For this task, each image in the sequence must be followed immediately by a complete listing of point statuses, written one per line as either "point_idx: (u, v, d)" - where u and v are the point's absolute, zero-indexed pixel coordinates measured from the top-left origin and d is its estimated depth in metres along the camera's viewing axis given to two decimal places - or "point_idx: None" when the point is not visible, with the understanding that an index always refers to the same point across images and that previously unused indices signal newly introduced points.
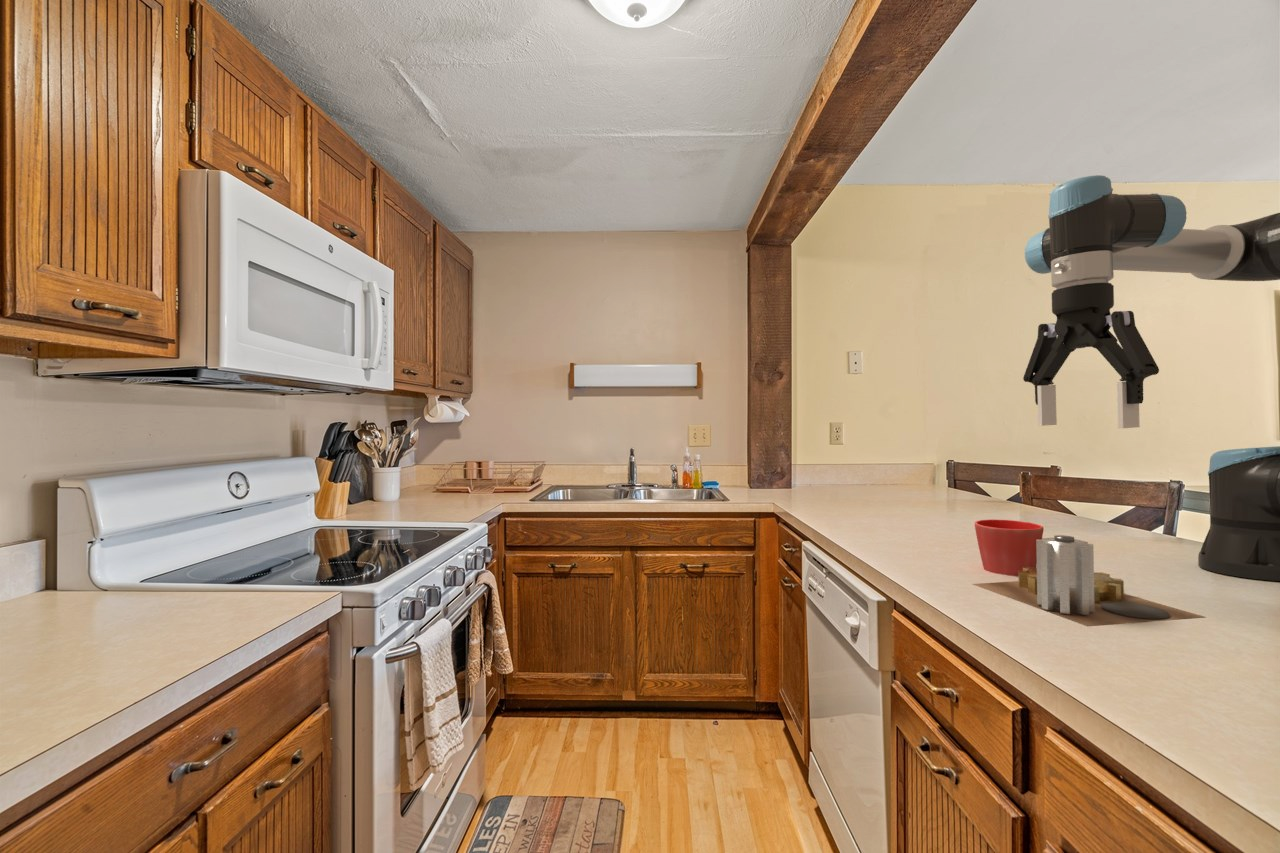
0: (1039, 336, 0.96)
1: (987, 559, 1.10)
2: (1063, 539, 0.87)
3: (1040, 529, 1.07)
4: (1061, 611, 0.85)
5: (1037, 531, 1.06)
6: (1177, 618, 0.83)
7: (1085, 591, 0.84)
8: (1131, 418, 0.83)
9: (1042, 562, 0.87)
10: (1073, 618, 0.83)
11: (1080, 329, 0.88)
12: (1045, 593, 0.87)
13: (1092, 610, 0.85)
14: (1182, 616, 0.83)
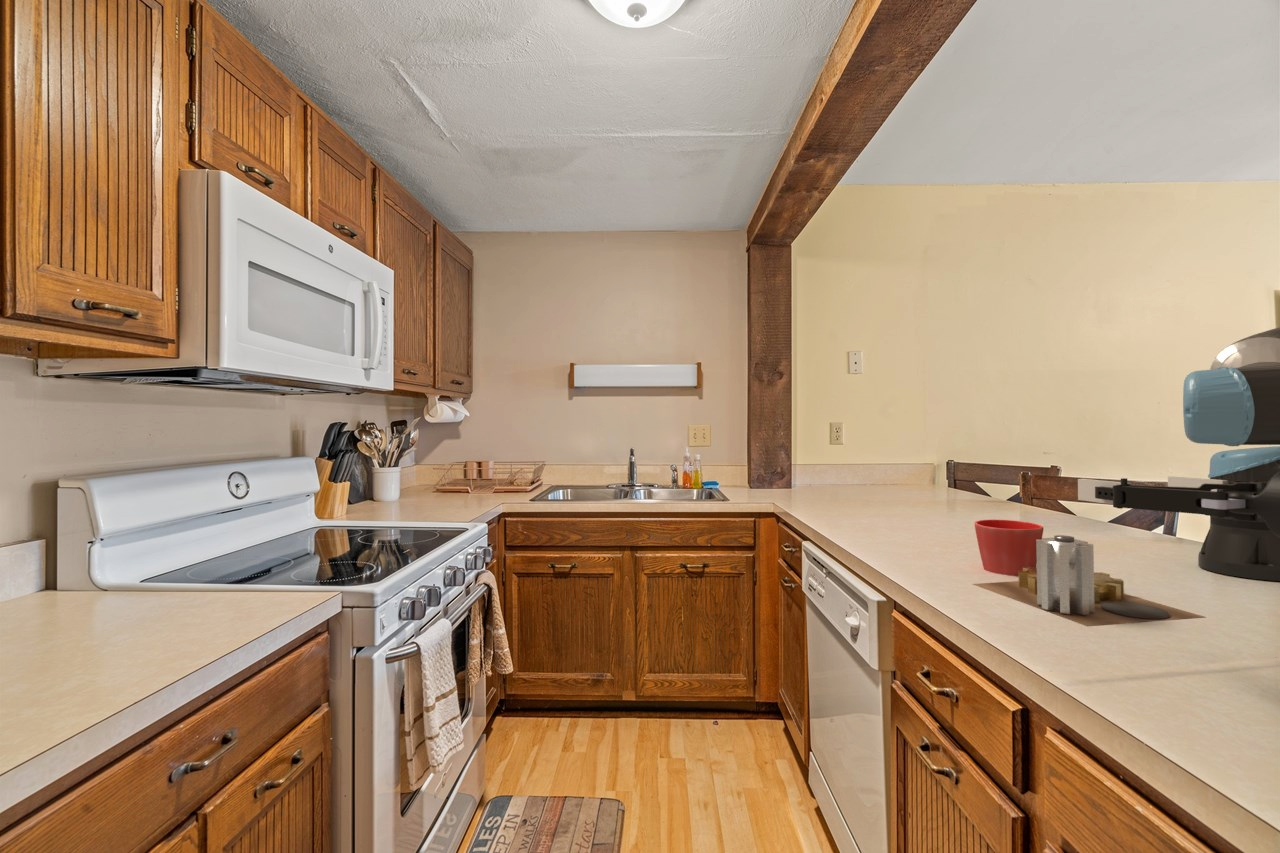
0: None
1: (987, 559, 1.10)
2: (1063, 539, 0.87)
3: (1040, 529, 1.07)
4: (1061, 611, 0.85)
5: (1037, 531, 1.06)
6: (1177, 618, 0.83)
7: (1085, 591, 0.84)
8: None
9: (1042, 562, 0.87)
10: (1073, 618, 0.83)
11: None
12: (1045, 593, 0.87)
13: (1092, 610, 0.85)
14: (1182, 616, 0.83)
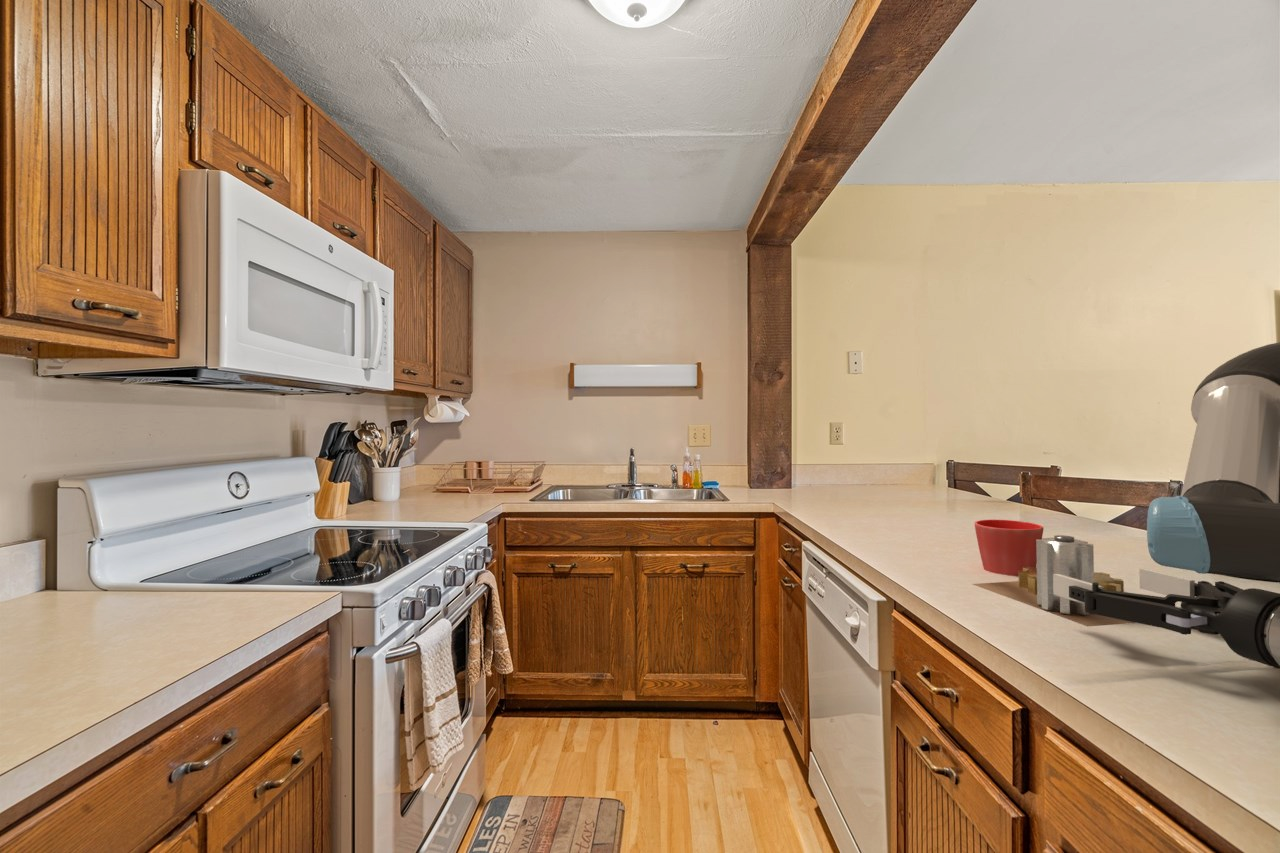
0: None
1: (987, 559, 1.10)
2: (1063, 539, 0.87)
3: (1040, 529, 1.07)
4: (1061, 611, 0.85)
5: (1037, 531, 1.06)
6: None
7: None
8: None
9: (1042, 562, 0.87)
10: (1073, 618, 0.83)
11: None
12: (1045, 593, 0.87)
13: None
14: None
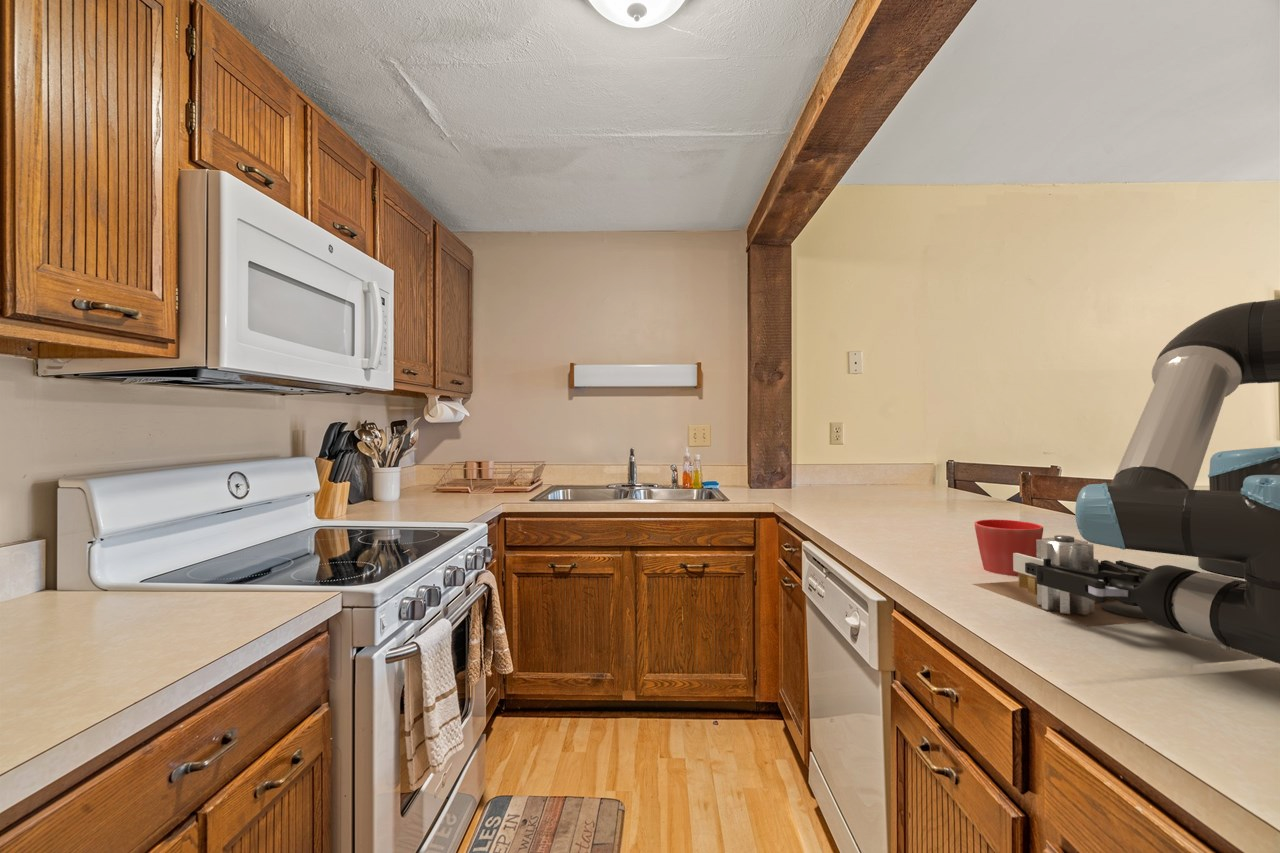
0: None
1: (987, 559, 1.10)
2: (1063, 539, 0.87)
3: (1040, 529, 1.07)
4: (1061, 611, 0.85)
5: (1037, 531, 1.06)
6: None
7: None
8: None
9: None
10: (1073, 618, 0.83)
11: None
12: (1045, 593, 0.87)
13: (1092, 610, 0.85)
14: None
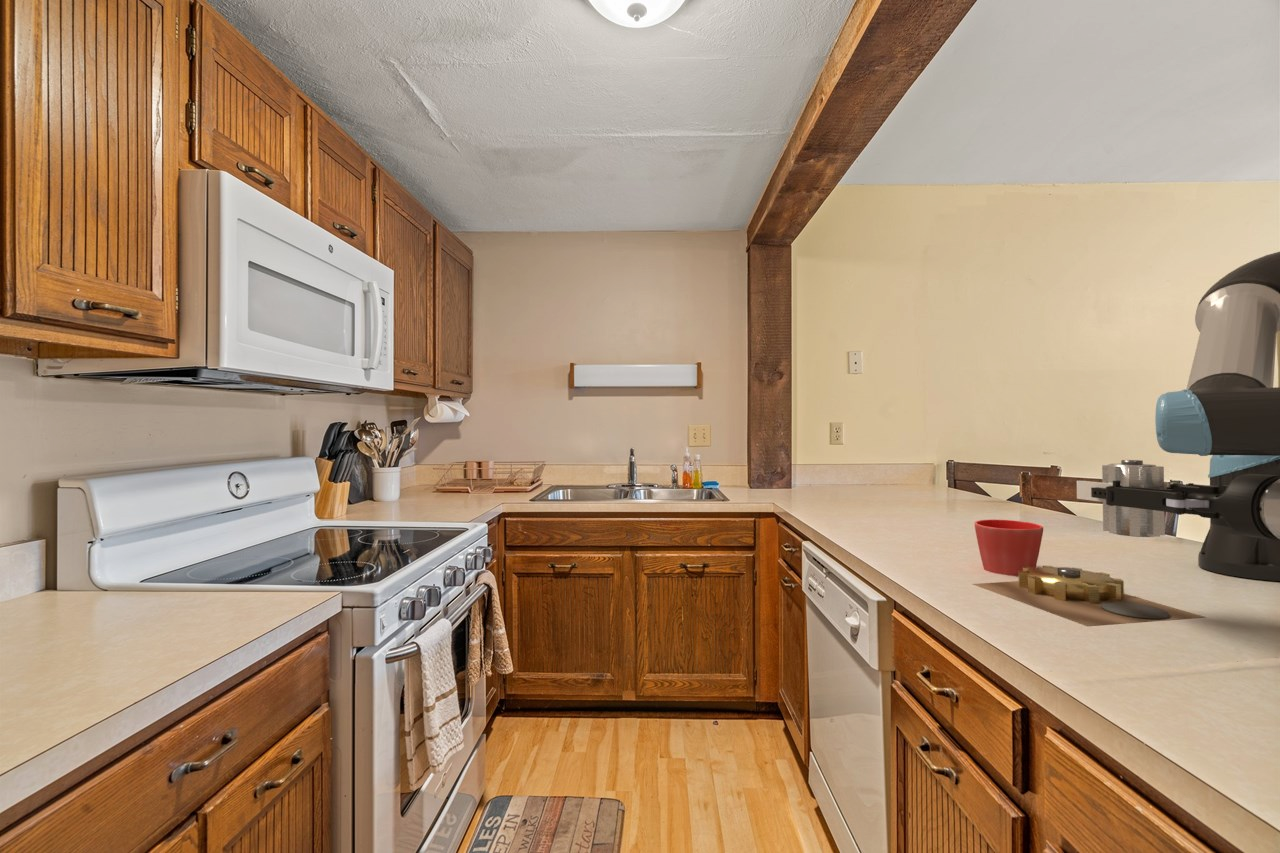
0: None
1: (987, 559, 1.10)
2: (1132, 462, 0.85)
3: (1040, 529, 1.07)
4: (1131, 534, 0.84)
5: (1037, 531, 1.06)
6: (1177, 618, 0.83)
7: (1156, 513, 0.83)
8: None
9: None
10: (1073, 618, 0.83)
11: None
12: (1113, 517, 0.85)
13: (1162, 533, 0.84)
14: (1182, 616, 0.83)
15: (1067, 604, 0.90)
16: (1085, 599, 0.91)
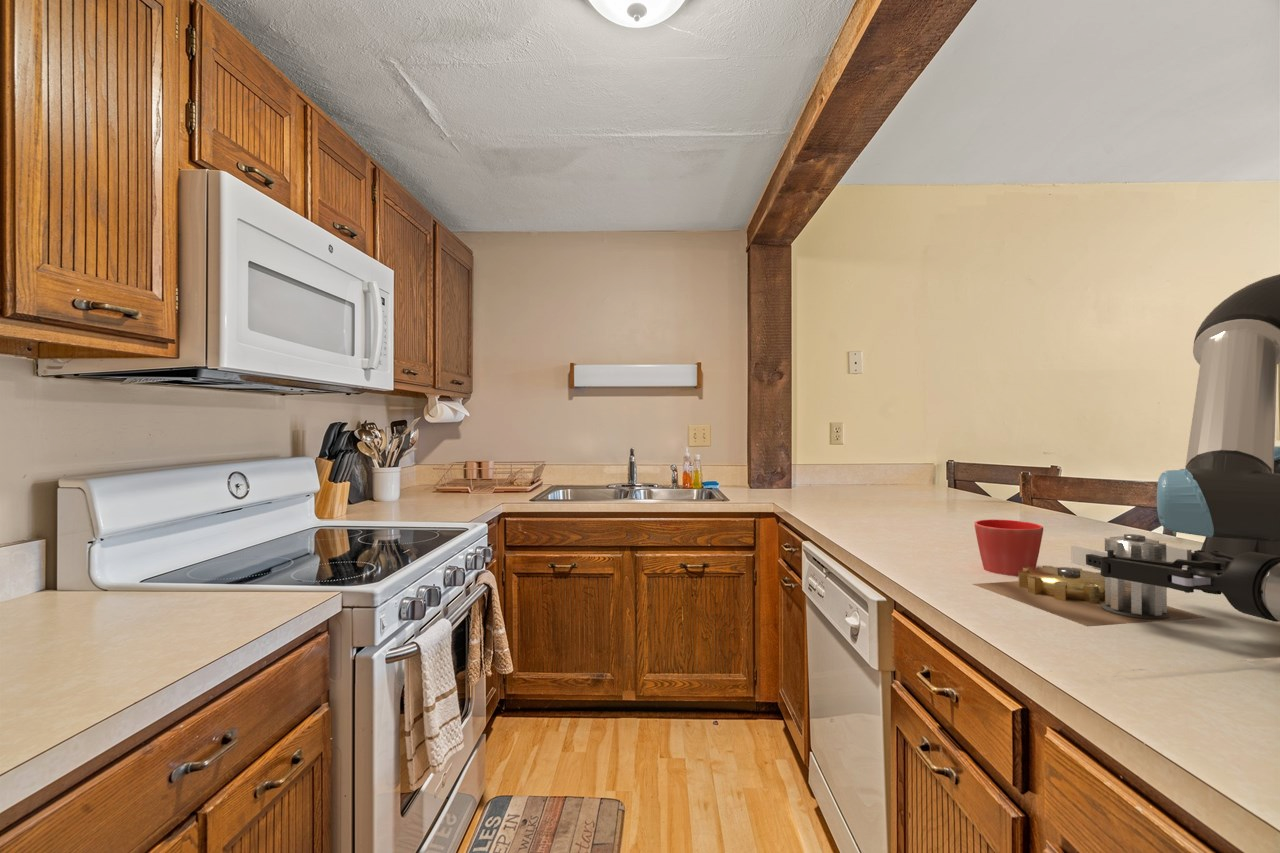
0: None
1: (987, 559, 1.10)
2: (1134, 538, 0.85)
3: (1040, 529, 1.07)
4: (1132, 611, 0.84)
5: (1037, 531, 1.06)
6: (1177, 618, 0.83)
7: (1158, 591, 0.83)
8: None
9: None
10: (1073, 618, 0.83)
11: None
12: (1115, 592, 0.85)
13: (1164, 610, 0.84)
14: (1182, 616, 0.83)
15: (1067, 604, 0.90)
16: (1085, 599, 0.91)
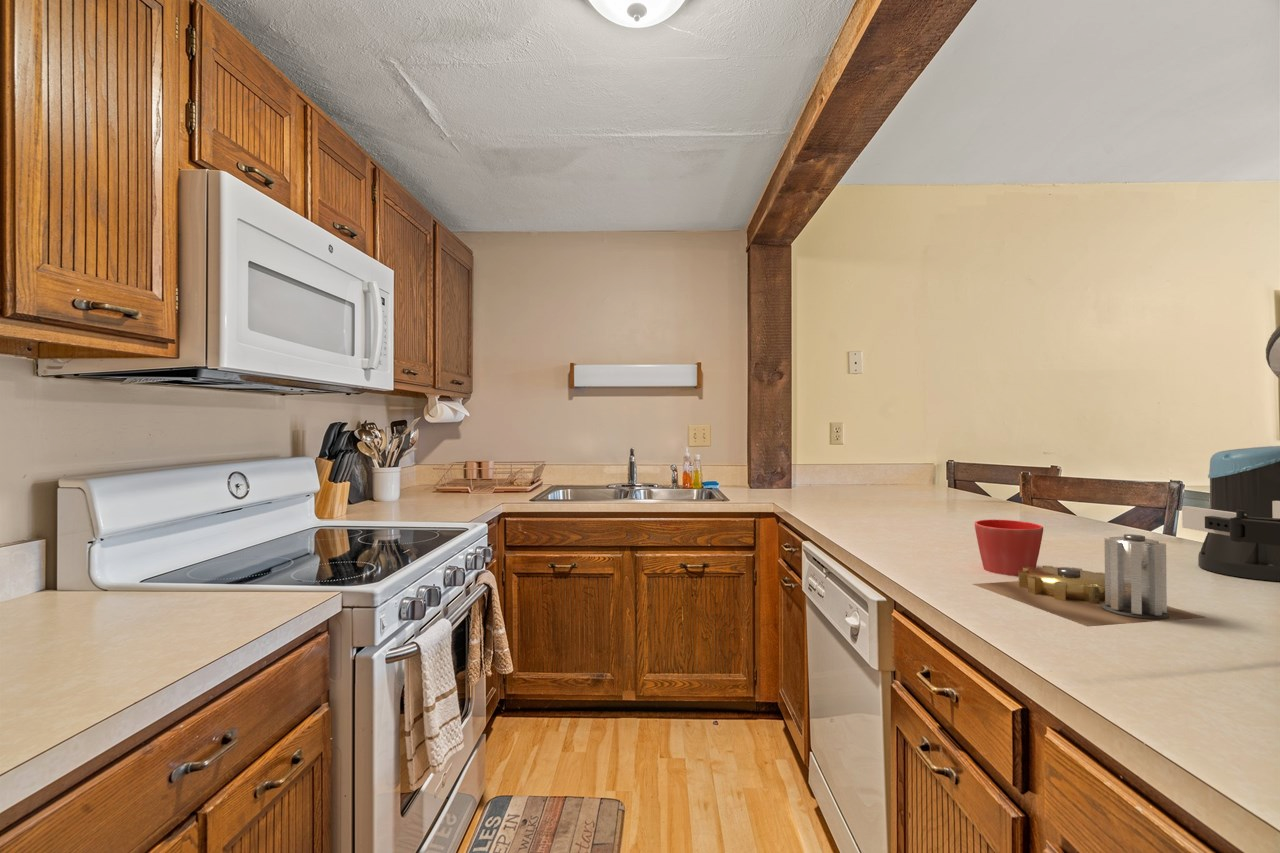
0: None
1: (987, 559, 1.10)
2: (1134, 538, 0.85)
3: (1040, 529, 1.07)
4: (1132, 611, 0.84)
5: (1037, 531, 1.06)
6: (1177, 618, 0.83)
7: (1158, 591, 0.83)
8: None
9: (1112, 561, 0.86)
10: (1073, 618, 0.83)
11: None
12: (1115, 592, 0.85)
13: (1164, 611, 0.84)
14: (1182, 616, 0.83)
15: (1067, 604, 0.90)
16: (1085, 599, 0.91)
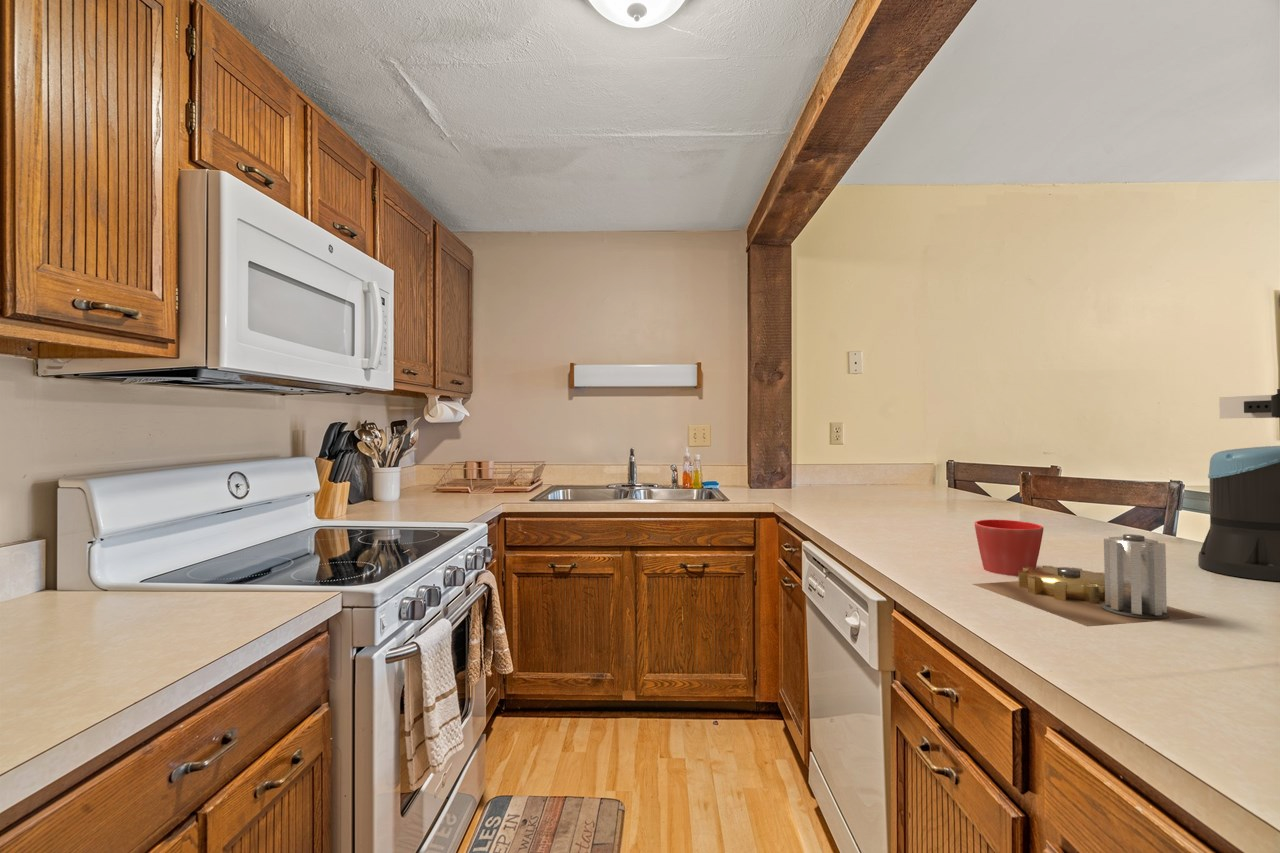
0: None
1: (987, 559, 1.10)
2: (1133, 538, 0.85)
3: (1040, 529, 1.07)
4: (1132, 611, 0.84)
5: (1037, 531, 1.06)
6: (1177, 618, 0.83)
7: (1158, 591, 0.83)
8: None
9: (1111, 562, 0.86)
10: (1073, 618, 0.83)
11: None
12: (1114, 593, 0.85)
13: (1164, 610, 0.84)
14: (1182, 616, 0.83)
15: (1067, 604, 0.90)
16: (1085, 599, 0.91)
